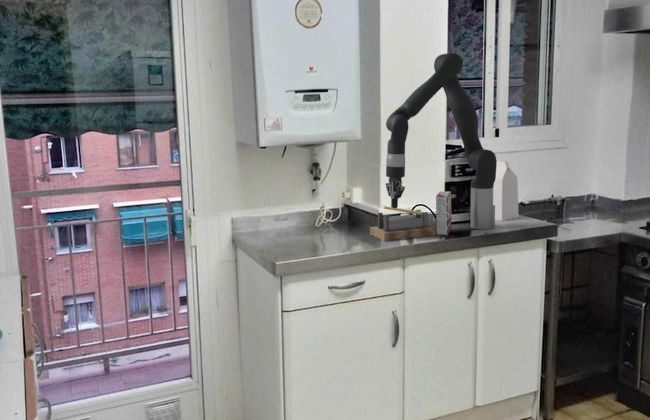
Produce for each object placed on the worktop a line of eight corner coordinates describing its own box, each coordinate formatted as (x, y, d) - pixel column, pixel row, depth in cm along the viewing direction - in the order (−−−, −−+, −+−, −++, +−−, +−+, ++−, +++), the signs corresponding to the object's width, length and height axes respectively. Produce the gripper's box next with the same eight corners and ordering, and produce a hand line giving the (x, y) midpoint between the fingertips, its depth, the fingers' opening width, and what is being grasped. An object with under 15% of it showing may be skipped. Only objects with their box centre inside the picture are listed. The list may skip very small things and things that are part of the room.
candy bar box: (439, 229, 257) (439, 191, 254) (451, 230, 255) (451, 191, 252) (435, 235, 246) (435, 195, 243) (447, 235, 245) (448, 195, 242)
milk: (481, 217, 280) (481, 161, 276) (497, 214, 286) (498, 159, 282) (501, 221, 270) (503, 162, 266) (518, 217, 277) (520, 160, 272)
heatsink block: (419, 223, 255) (419, 208, 254) (428, 227, 248) (428, 211, 247) (377, 228, 249) (377, 212, 248) (386, 231, 241) (385, 215, 240)
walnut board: (419, 228, 259) (419, 221, 258) (435, 235, 246) (435, 227, 245) (369, 234, 251) (369, 227, 251) (384, 241, 238) (384, 233, 238)
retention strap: (420, 215, 252) (421, 211, 252) (425, 216, 249) (426, 212, 249) (379, 208, 245) (380, 204, 245) (383, 209, 242) (384, 205, 242)
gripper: (411, 166, 238) (410, 209, 241) (396, 163, 250) (395, 204, 253) (394, 166, 235) (393, 210, 238) (380, 163, 248) (379, 205, 250)
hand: (394, 207), depth 245 cm, fingers closed
